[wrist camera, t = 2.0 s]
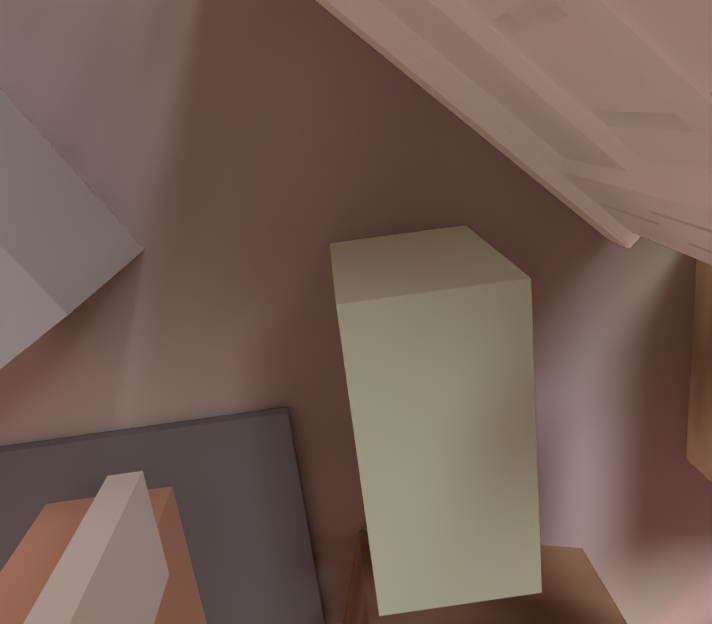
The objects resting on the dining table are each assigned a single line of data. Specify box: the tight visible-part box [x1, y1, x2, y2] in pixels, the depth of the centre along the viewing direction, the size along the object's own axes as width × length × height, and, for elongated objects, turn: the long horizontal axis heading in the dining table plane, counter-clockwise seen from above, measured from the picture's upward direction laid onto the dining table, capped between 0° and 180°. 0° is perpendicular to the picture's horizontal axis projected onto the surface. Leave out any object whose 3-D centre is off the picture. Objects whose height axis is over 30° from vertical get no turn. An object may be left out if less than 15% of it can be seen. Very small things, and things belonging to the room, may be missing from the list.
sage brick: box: [330, 225, 542, 616], centre depth 17 cm, size 8×4×6 cm, turn 7°
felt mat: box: [0, 407, 326, 624], centre depth 21 cm, size 12×12×1 cm
